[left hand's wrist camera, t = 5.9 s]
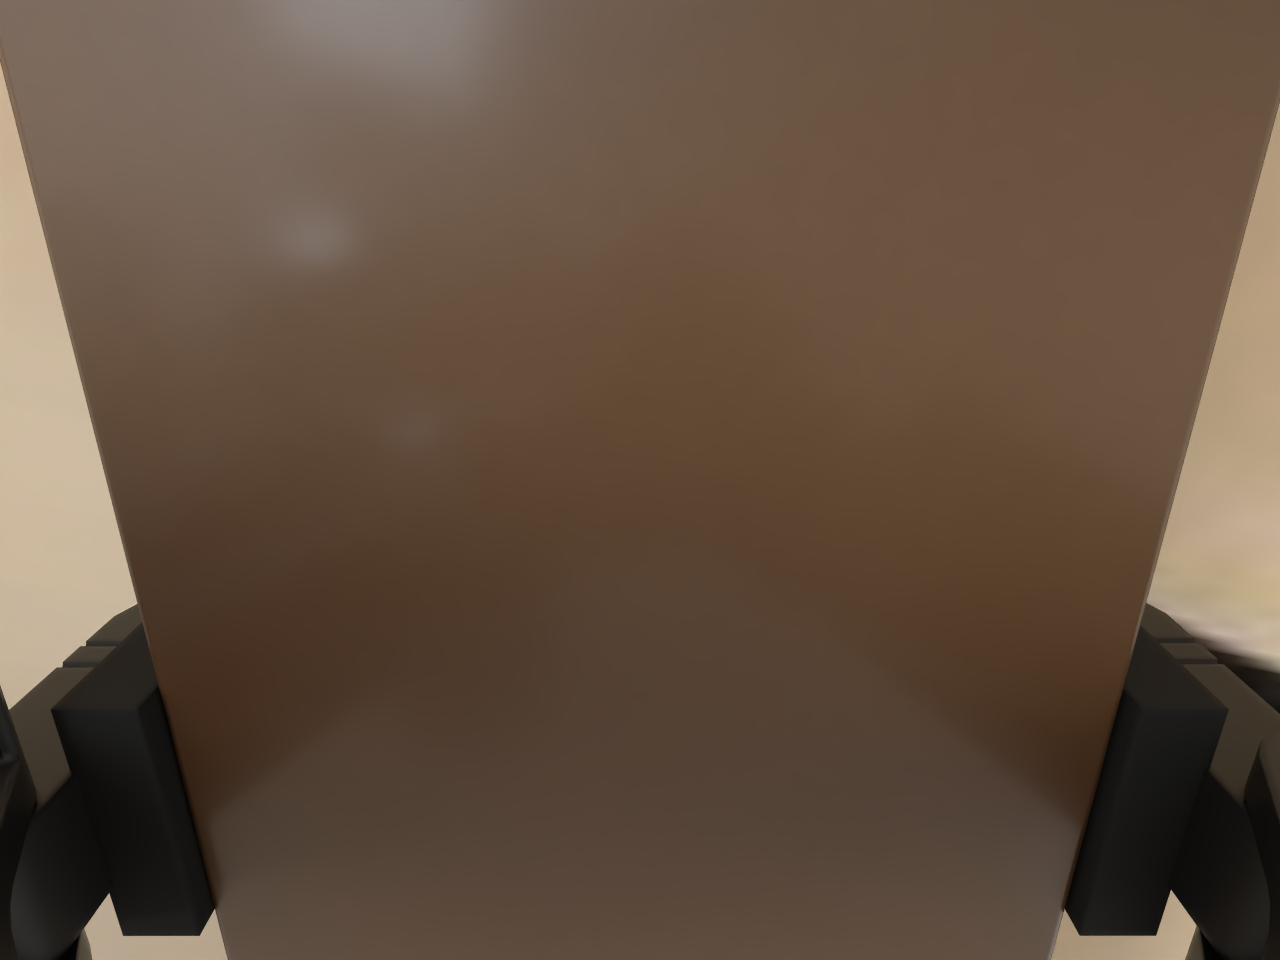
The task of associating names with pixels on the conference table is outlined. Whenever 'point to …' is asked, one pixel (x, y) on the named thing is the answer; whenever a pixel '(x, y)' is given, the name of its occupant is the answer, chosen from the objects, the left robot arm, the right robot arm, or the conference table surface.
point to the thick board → (642, 443)
